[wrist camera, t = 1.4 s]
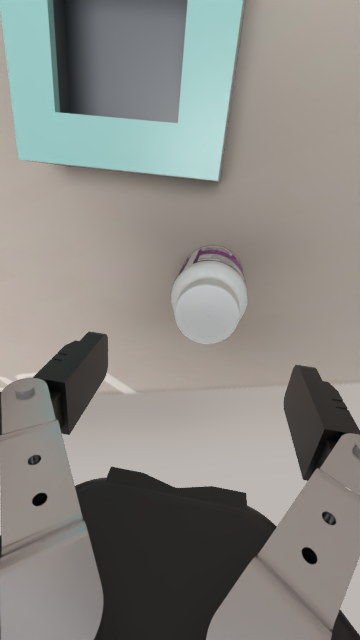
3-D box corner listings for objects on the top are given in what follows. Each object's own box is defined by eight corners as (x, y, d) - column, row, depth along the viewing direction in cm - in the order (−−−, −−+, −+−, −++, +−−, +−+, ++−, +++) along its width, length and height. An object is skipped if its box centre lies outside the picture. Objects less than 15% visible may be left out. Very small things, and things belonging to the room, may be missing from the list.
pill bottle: (208, 312, 28) (200, 369, 19) (171, 270, 27) (144, 310, 18) (255, 277, 26) (269, 323, 17) (217, 230, 25) (212, 254, 16)
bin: (253, -54, 18) (265, -160, 12) (220, 182, 23) (218, 180, 18) (50, -61, 19) (-21, -161, 13) (64, 165, 24) (18, 159, 19)
